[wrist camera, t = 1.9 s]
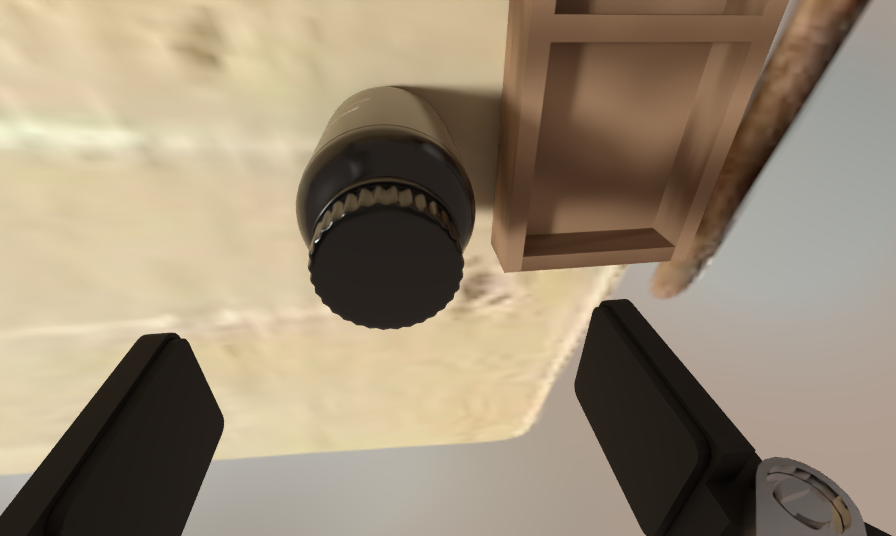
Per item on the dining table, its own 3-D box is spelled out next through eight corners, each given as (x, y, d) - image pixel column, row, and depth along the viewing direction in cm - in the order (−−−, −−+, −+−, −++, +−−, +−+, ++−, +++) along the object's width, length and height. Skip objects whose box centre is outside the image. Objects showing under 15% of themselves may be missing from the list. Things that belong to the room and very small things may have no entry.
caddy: (542, -427, 13) (589, -557, 10) (857, -383, 14) (982, -486, 11) (491, 243, 26) (504, 272, 23) (653, 233, 27) (685, 259, 24)
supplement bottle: (326, 71, 19) (265, 140, 10) (460, 98, 21) (529, 180, 11) (322, 200, 23) (274, 347, 13) (436, 215, 24) (472, 357, 15)
